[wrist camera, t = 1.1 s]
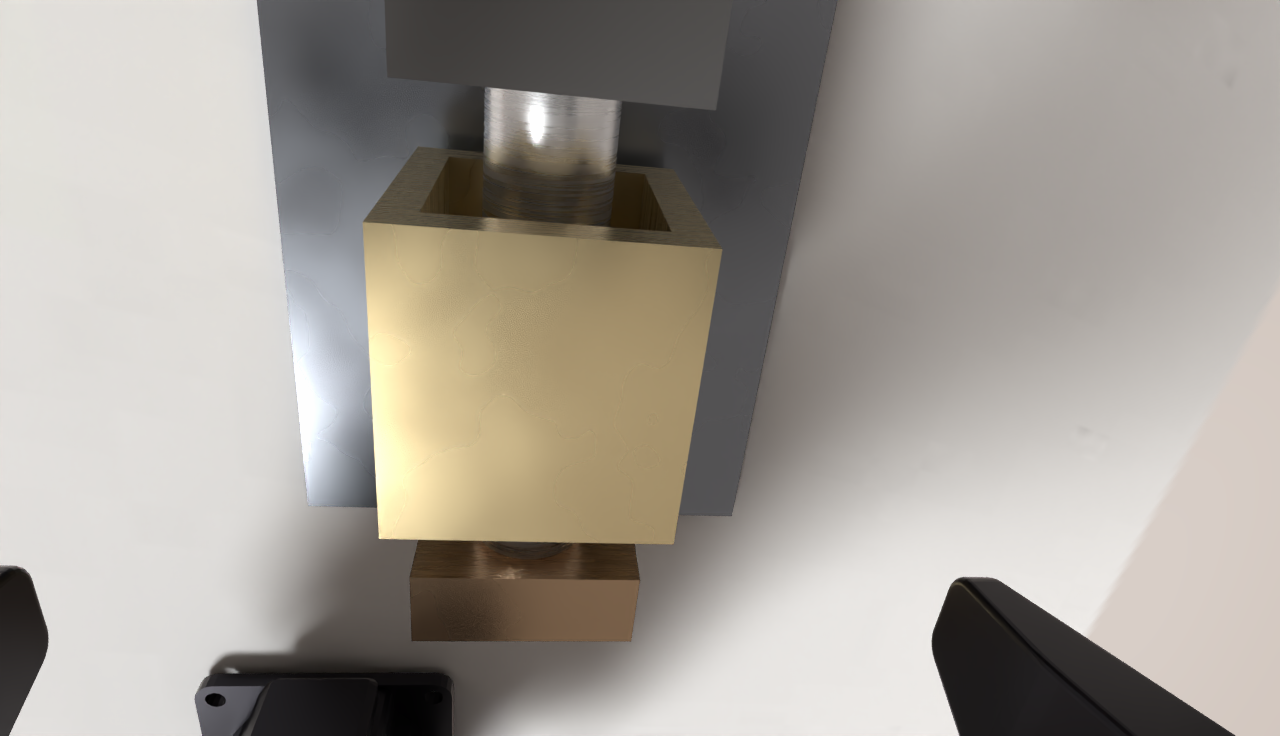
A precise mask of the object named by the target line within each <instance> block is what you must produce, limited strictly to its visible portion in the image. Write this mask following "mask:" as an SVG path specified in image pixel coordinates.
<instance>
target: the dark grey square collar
mask: <svg viewBox="0 0 1280 736" xmlns="http://www.w3.org/2000/svg"><path fill="white" fill-rule="evenodd" d="M384 1H385V30H386V59H387V77H390V78H400V79H410V80H419V81H429V82H439V83H449V84H459V85H469V86H479V87H488V88H498V89H508V90H518V91H528V92H538V93H548V94H557V95H567V96H577V97H587V98H597V99H607V100H616V101H626V102H636V103H646V104H656V105H666V106H676V107H685V108H695V109H705V110H715V111H716V107H717V101H718V94H719V87H720V81H721V74H722V67H723V61H724V54H725V47H726V40H727V34H728V27H729V20H730V14H731V7H732V0H384Z"/></svg>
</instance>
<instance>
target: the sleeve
mask: <svg viewBox="0 0 1280 736" xmlns="http://www.w3.org/2000/svg"><path fill="white" fill-rule="evenodd" d="M483 156H484V152H475V151H464V150H453V149H442V148H431V147H420V146H418V147H417V149H416V150H415V151H414V153H413V154H412V155H411V157H410V158H409V159H408V161H407V162H406V164H405V165H404V166H403V168H402V169H401V170H400V172H399V173H398V174H397V176H396V177H395V179H394V180H393V181H392V183H391V184H390V185H389V187H388V188H387V189H386V191H385V192H384V194H383V195H382V196H381V198H380V199H379V200H378V202H377V203H376V204H375V206H374V207H373V209H372V210H371V211H370V213H369V214H368V215H367V217H366V218H365V219H364V221H363V240H364V259H365V278H366V298H367V317H368V336H369V356H370V375H371V394H372V414H373V433H374V452H375V472H376V491H377V510H378V530H379V539H409V540H462V541H516V542H569V543H622V544H674V539H675V533H676V527H677V521H678V515H679V508H680V502H681V496H682V490H683V484H684V478H685V472H686V466H687V460H688V454H689V448H690V442H691V436H692V430H693V424H694V418H695V412H696V406H697V400H698V394H699V388H700V382H701V376H702V370H703V364H704V358H705V352H706V346H707V340H708V334H709V328H710V322H711V316H712V310H713V304H714V297H715V291H716V285H717V279H718V273H719V267H720V261H721V255H722V248H721V246H720V244H719V243H718V241H717V239H716V238H715V236H714V235H713V233H712V231H711V230H710V228H709V226H708V225H707V223H706V222H705V220H704V218H703V217H702V215H701V213H700V212H699V210H698V209H697V207H696V205H695V204H694V202H693V200H692V199H691V197H690V196H689V194H688V192H687V191H686V189H685V187H684V186H683V184H682V183H681V181H680V179H679V178H678V176H677V174H676V173H675V171H674V170H673V169H665V168H654V167H643V166H631V165H620V164H616V170H615V180H614V191H613V201H612V212H611V222H610V227H601V226H588V225H575V224H562V223H549V222H536V221H523V220H511V219H498V218H485V217H482V206H483Z"/></svg>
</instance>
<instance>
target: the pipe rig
mask: <svg viewBox="0 0 1280 736" xmlns="http://www.w3.org/2000/svg"><path fill="white" fill-rule="evenodd" d="M836 4H837V0H732V7H731V14H730V20H729V27H728V34H727V40H726V47H725V54H724V61H723V67H722V74H721V81H720V87H719V94H718V101H717V107H716V111H715V110H705V109H695V108H685V107H676V106H666V105H656V104H646V103H636V102H626V101H616V100H607V99H597V98H587V97H577V96H567V95H557V94H548V93H538V92H528V91H518V90H508V89H498V88H488V87H479V86H469V85H459V84H449V83H439V82H429V81H419V80H410V79H400V78H390V77H387V59H386V30H385V1H384V0H257V6H258V16H259V26H260V36H261V46H262V56H263V66H264V75H265V85H266V95H267V105H268V115H269V125H270V135H271V144H272V154H273V164H274V174H275V184H276V194H277V204H278V213H279V223H280V233H281V243H282V253H283V263H284V273H285V282H286V292H287V302H288V312H289V322H290V332H291V342H292V352H293V361H294V371H295V381H296V391H297V401H298V411H299V421H300V430H301V440H302V450H303V460H304V470H305V480H306V490H307V499H308V506H337V507H377V491H376V472H375V452H374V433H373V414H372V394H371V375H370V356H369V336H368V317H367V298H366V278H365V259H364V240H363V221H364V219H365V218H366V217H367V215H368V214H369V213H370V211H371V210H372V209H373V207H374V206H375V204H376V203H377V202H378V200H379V199H380V198H381V196H382V195H383V194H384V192H385V191H386V189H387V188H388V187H389V185H390V184H391V183H392V181H393V180H394V179H395V177H396V176H397V174H398V173H399V172H400V170H401V169H402V168H403V166H404V165H405V164H406V162H407V161H408V159H409V158H410V157H411V155H412V154H413V153H414V151H415V150H416V149H417V147H418V146H420V147H431V148H442V149H453V150H464V151H475V152H484V156H483V206H482V217H485V218H498V219H511V220H523V221H536V222H549V223H562V224H575V225H588V226H601V227H610V222H611V212H612V201H613V191H614V180H615V170H616V164H620V165H631V166H643V167H654V168H665V169H673V170H674V171H675V173H676V174H677V176H678V178H679V179H680V181H681V183H682V184H683V186H684V187H685V189H686V191H687V192H688V194H689V196H690V197H691V199H692V200H693V202H694V204H695V205H696V207H697V209H698V210H699V212H700V213H701V215H702V217H703V218H704V220H705V222H706V223H707V225H708V226H709V228H710V230H711V231H712V233H713V235H714V236H715V238H716V239H717V241H718V243H719V244H720V246H721V248H722V255H721V261H720V267H719V273H718V279H717V285H716V291H715V297H714V304H713V310H712V316H711V322H710V328H709V334H708V340H707V346H706V352H705V358H704V364H703V370H702V376H701V382H700V388H699V394H698V400H697V406H696V412H695V418H694V424H693V430H692V436H691V442H690V448H689V454H688V460H687V466H686V472H685V478H684V484H683V490H682V496H681V502H680V508H679V515H705V516H732V512H733V507H734V502H735V498H736V493H737V488H738V483H739V478H740V473H741V468H742V463H743V458H744V454H745V449H746V444H747V439H748V434H749V429H750V424H751V419H752V414H753V410H754V405H755V400H756V395H757V390H758V385H759V380H760V375H761V370H762V366H763V361H764V356H765V351H766V346H767V341H768V336H769V331H770V326H771V322H772V317H773V312H774V307H775V302H776V297H777V292H778V287H779V282H780V278H781V273H782V268H783V263H784V258H785V253H786V248H787V243H788V238H789V234H790V229H791V224H792V219H793V214H794V209H795V204H796V199H797V195H798V190H799V185H800V180H801V175H802V170H803V165H804V160H805V155H806V151H807V146H808V141H809V136H810V131H811V126H812V121H813V116H814V111H815V107H816V102H817V97H818V92H819V87H820V82H821V77H822V72H823V67H824V63H825V58H826V53H827V48H828V43H829V38H830V33H831V28H832V23H833V19H834V14H835V9H836ZM639 583H640V578H639V571H638V565H637V558H636V551H635V544H622V543H569V542H516V541H462V540H418V544H417V548H416V552H415V557H414V561H413V565H412V570H411V574H410V604H411V638H412V641H631V638H632V631H633V624H634V617H635V610H636V603H637V597H638V590H639Z"/></svg>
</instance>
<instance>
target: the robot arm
mask: <svg viewBox="0 0 1280 736" xmlns="http://www.w3.org/2000/svg"><path fill="white" fill-rule="evenodd" d="M47 649H48V630H47V626H46V623H45V620H44V616H43V613H42V610H41V607H40V604H39V600H38V597H37V594H36V591H35V588H34V584H33V581H32V578H31V576H30V574H29V573H28V572H27V571H26V570H25V569H24V568H21V567H18V566H0V736H9V734H10V732H11V730H12V728H13V726H14V723H15V721H16V719H17V717H18V715H19V713H20V711H21V709H22V706H23V704H24V702H25V700H26V698H27V696H28V694H29V691H30V689H31V687H32V685H33V683H34V681H35V679H36V677H37V674H38V672H39V670H40V668H41V666H42V664H43V661H44V659H45V656H46V653H47ZM932 651H933V656H934V660H935V663H936V666H937V669H938V672H939V675H940V678H941V681H942V684H943V687H944V691H945V694H946V697H947V700H948V703H949V706H950V709H951V712H952V715H953V718H954V721H955V724H956V727H957V730H958V733H959V736H1235V735H1234V734H1232V733H1231V732H1229V731H1227V730H1226V729H1225V728H1223V727H1222V726H1220V725H1219V724H1217V723H1215V722H1214V721H1212V720H1211V719H1209V718H1208V717H1206V716H1204V715H1203V714H1202V713H1200V712H1199V711H1197V710H1196V709H1194V708H1193V707H1191V706H1190V705H1188V704H1186V703H1185V702H1183V701H1182V700H1180V699H1179V698H1177V697H1176V696H1174V695H1173V694H1171V693H1170V692H1168V691H1166V690H1165V689H1164V688H1162V687H1161V686H1159V685H1157V684H1156V683H1154V682H1153V681H1151V680H1150V679H1148V678H1147V677H1145V676H1144V675H1142V674H1141V673H1139V672H1138V671H1136V670H1135V669H1133V668H1131V667H1130V666H1128V665H1127V664H1126V663H1124V662H1122V661H1121V660H1119V659H1118V658H1116V657H1115V656H1113V655H1111V654H1110V653H1109V652H1107V651H1106V650H1104V649H1102V648H1101V647H1100V646H1098V645H1096V644H1095V643H1093V642H1092V641H1090V640H1089V639H1087V638H1086V637H1084V636H1083V635H1081V634H1080V633H1078V632H1077V631H1075V630H1074V629H1072V628H1071V627H1069V626H1068V625H1066V624H1065V623H1063V622H1062V621H1060V620H1058V619H1057V618H1055V617H1054V616H1052V615H1051V614H1049V613H1048V612H1046V611H1045V610H1043V609H1042V608H1040V607H1039V606H1037V605H1036V604H1034V603H1033V602H1031V601H1030V600H1028V599H1026V598H1025V597H1023V596H1022V595H1020V594H1019V593H1017V592H1016V591H1014V590H1013V589H1011V588H1010V587H1008V586H1007V585H1005V584H1004V583H1002V582H1000V581H999V580H997V579H994V578H989V577H961V578H958V579H956V580H955V581H954V582H953V583H952V584H951V586H950V588H949V590H948V593H947V596H946V598H945V601H944V604H943V606H942V609H941V612H940V614H939V617H938V620H937V622H936V625H935V628H934V630H933V634H932ZM431 691H435V692H431ZM195 703H196V708H197V713H198V717H199V722H200V727H201V731H202V736H454V684H453V681H452V680H451V679H450V678H449V677H448V676H446V675H444V674H441V673H284V674H214V675H210V676H208V677H206V678H205V679H204V680H203V681H202V682H201V684H200V686H199V688H198V691H197V693H196V695H195Z"/></svg>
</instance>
